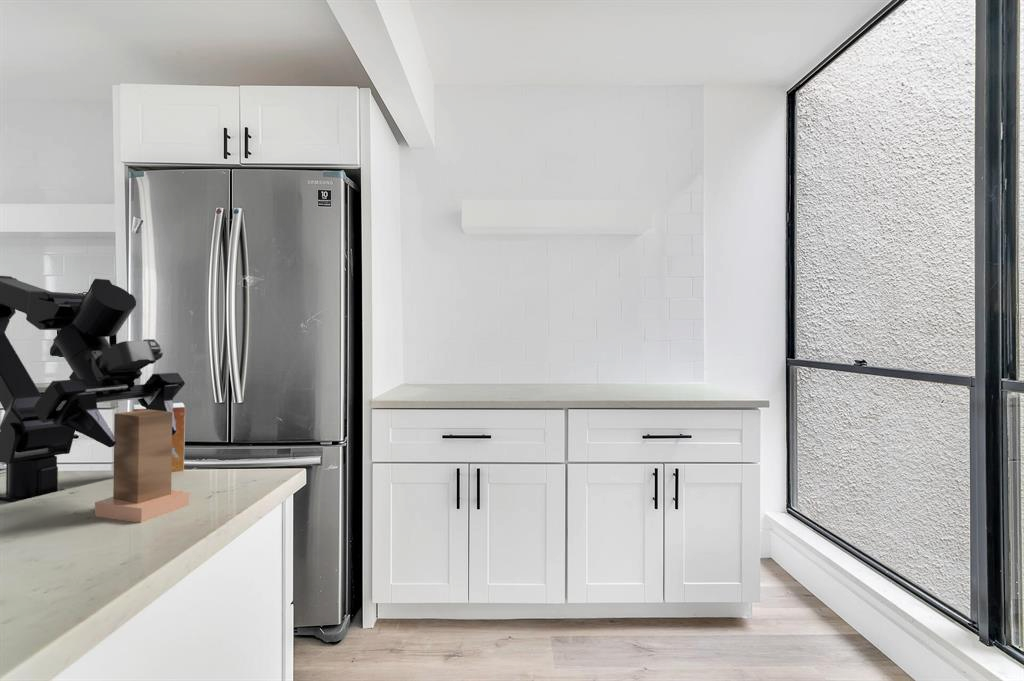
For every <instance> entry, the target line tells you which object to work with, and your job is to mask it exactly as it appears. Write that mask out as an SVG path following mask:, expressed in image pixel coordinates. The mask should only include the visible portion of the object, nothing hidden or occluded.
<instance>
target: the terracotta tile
mask: <svg viewBox="0 0 1024 681" xmlns="http://www.w3.org/2000/svg"><path fill="white" fill-rule="evenodd" d="M188 506H190V492H189V491H188V492H187V491H181V490H172V489H171V494H169V495H166V496H162V497H158V498H155V499H151V500H148V501H144V502H140V503H134V502H129V501H124V500H119V499H113V496H112V497H108V498H104V499H101V500H97V501H95V502H94V517H97V518H98V517H99V518H105V519H112V520H120V521H126V522H127V521H128V522H133V523H139V524H140V523H144V522H147V521H150V520H153V519H156V518H157V517H158V518H159V517H160V516H164V515H166V514H169V513H172V512H174V511H177V510H181V509H183V508H185V507H188Z"/></svg>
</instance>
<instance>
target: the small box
mask: <svg viewBox="0 0 1024 681" xmlns="http://www.w3.org/2000/svg"><path fill="white" fill-rule="evenodd" d="M145 409H146V408H145V407H143V406H141V404H133V405H132V411H140V410H145ZM173 412H174V418H175V424H176V430H177V431H176V433H175V434H174V435H173V436H172V471H171V473H176V472H184V471H185V445H186V444H185V443H186V442H185V441H186V440H185V438H186V437H185V435H186V430H185V429H186V407H185V404H184V403H183V402H173Z"/></svg>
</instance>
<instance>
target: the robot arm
mask: <svg viewBox="0 0 1024 681" xmlns="http://www.w3.org/2000/svg"><path fill="white" fill-rule="evenodd" d="M136 306H137V300H136V298H135V295H134V294H132V293H130V292H128V291H127V290H125V289H124V288H122V287H119V286H117V285H115V284H113V283H112V282H111V280H110V279H107V278H106V279H103V278H94V279H93V280H92V283H91V284H90V286H89V288H88V291H87V292H86V293H75V292H74V293H73V292H57V291H50V290H47V289H44V288H41V287H38V286H35V285H32V284H30V283H27V282H23V281H21V280H19V279H17V278H14V277H12V276H8V275H0V404H1V406H2V408H3V410H4V414H3V417H2V419H1V422H0V463H2V464H5V467H6V469H5V474H6V475H5V476H6V478H5V485H6V486H5V492H3V493H0V500H3V501H10V502H19V501H24V500H28V499H33V498H36V497H40V496H44V495H48V494H54V493H56V492H57V493H58V492H61V491H65V490H67V488H62V487H59V486H58V485H59V484H58V483H59V482H58V480H59V477H58V476H59V468H58V456H60V455H69V454H70V453H71V448H72V445H73V441H74V437H75V432H77V433H80V434H82V435H84V436H86V437H88V438H90V439H92V440H94V441H96V442H98V443H100V444H102V445H104V446H106V447H108V448H114V445H115V444H116V440H115V438H114V432H112V430H111V428H110V427H109V425H108V423H107V422H106V420H105V419H104V417H103V415H102V413H100V411H99V409H98V406H97V405H98V403H105V404H106V403H115V402H123V401H132V400H137V401H138V402H139V405H141V406H143V407H145V408H146V409H145V410H148V409H149V410H159V411H168V412H172V436H173V435H174V434H175V433H176V431H177V430H176V424H175V418H174V412H173V403H174V398H175V397H176V396H177V394H178V393H179V391H181V389H183V387H184V386H185V384H186V383H185V381H184V379H183V378H182V377H181V375H180V374H179V373H178V372H160V373H159V372H158V373H152V374H151V375H150V376H149V378H148V379H147V381H146V382H145V383H142V384H135V383H136V382H135V380H137V379H140V377H141V376H142V374H143V372H142V370H141V369H144V368H145V367H147V366H148V365H153V364H155V363H156V362H157V361H158V360H160V359H161V358H162V357H163V354H164V353H163V350H162V347H161V346H160V344H159V343H158V342H157V340H155V339H150V338H149V339H148V338H147V339H143V340H126V341H125V340H124V341H120V342H118V343H116V344H113V345H112V346H111V344H110V343H109V341H108V340H107V338H108V337H112V336H115V335H117V334H118V333H119V331H120V330H121V328H122V327H123V325H124V324H125V323H126V321H127V319H128V318H129V317H130V315H131V314H132V312H133V310H135V308H136ZM16 311H18V312H21V313H24V314H25V315H26V319H25V320H26V321H27V322H28V323H29V324H31V325H33V326H34V327H35V328H36V329H38V330H39V331H41V330H42V331H58V333H57V334H56V336H55V337H54V338H53V343H52V345H51V346H50V348H49V355H50V356H51V357H60V356H61V357H62V356H63V358H64V360H65V361H66V362H67V364H68V365H69V367H70V369H71V371H72V372H71V374H70V375H69V376H68V378H69V379H63V380H61V379H60V380H59V379H58V380H52V381H51V382H50V384H49V385H48V386H47V388H45V390H44V392H43V393H42V394H41V392H40V390H39V389H38V387H37V385H36V384H35V381H33V378H32V377H31V376H30V374H29V372H28V370H27V368H26V366H25V365H24V363H23V362H22V360H21V358H20V356H19V355H18V353H17V352H16V350H15V348H14V347H13V344H11V342H10V339H9V338H8V337H7V335H6V331H7V328H8V327H9V323H10V321H11V319H12V317H13V316H15V315H16V313H17V312H16ZM106 337H107V338H106Z"/></svg>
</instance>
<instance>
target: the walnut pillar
mask: <svg viewBox="0 0 1024 681" xmlns="http://www.w3.org/2000/svg"><path fill="white" fill-rule="evenodd" d="M113 425H114V426H113V429H114V430H113V431H114V432H113V436H114V438H115V440H116V444H115V445H114V446H113V485H112V486H113V490H112V491H113V492H112V493H113V494H112V495H113V496H112V497H113V499H119V500H124V501H129V502H134V503H140V502H144V501H148V500H151V499H155V498H158V497H162V496H166V495H169V494H171V490H172V472H171V471H172V412H168V411H159V410H149V409H148V410H140V411H133V410H132V411H124V412H117V413H114V424H113Z"/></svg>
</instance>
